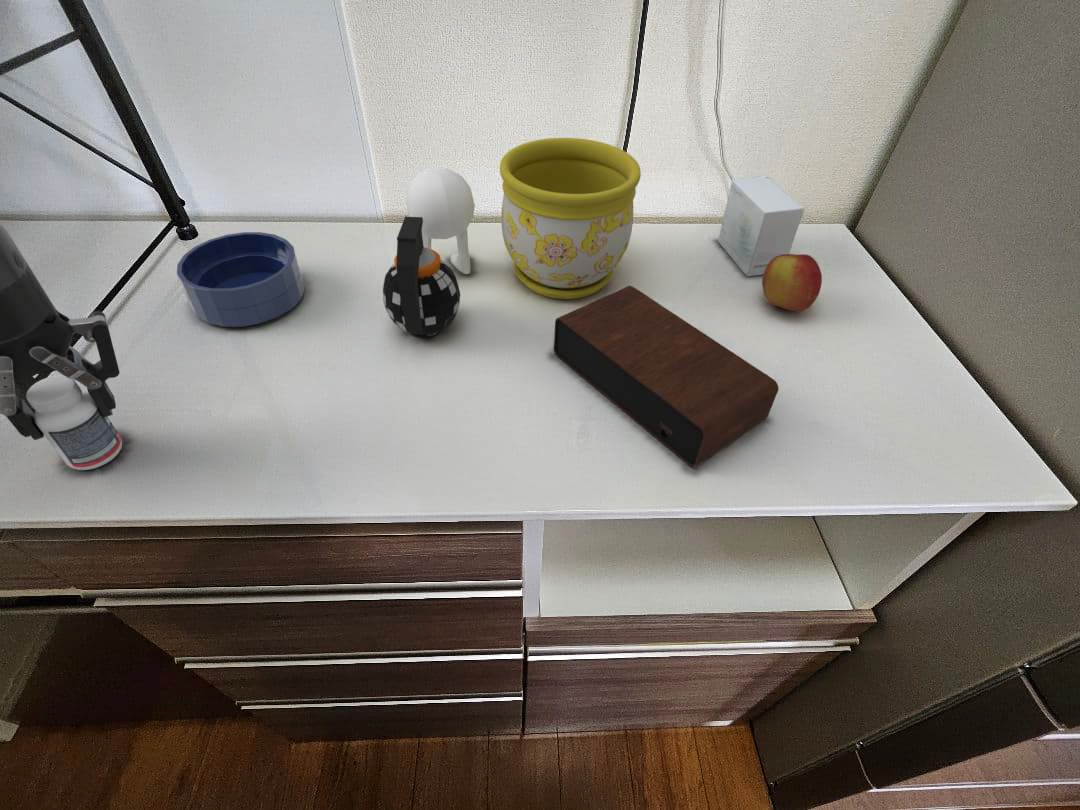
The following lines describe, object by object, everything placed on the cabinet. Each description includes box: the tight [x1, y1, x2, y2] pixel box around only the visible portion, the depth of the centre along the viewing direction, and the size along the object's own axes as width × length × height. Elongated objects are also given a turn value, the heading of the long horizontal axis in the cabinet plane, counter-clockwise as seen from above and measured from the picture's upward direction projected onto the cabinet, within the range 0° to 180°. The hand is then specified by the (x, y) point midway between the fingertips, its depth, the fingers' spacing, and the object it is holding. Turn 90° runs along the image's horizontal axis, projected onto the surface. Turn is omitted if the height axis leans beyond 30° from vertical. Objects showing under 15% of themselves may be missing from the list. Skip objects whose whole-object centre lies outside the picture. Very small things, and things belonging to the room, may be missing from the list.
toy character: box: [405, 167, 476, 275], centre depth 86 cm, size 9×9×15 cm
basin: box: [176, 231, 305, 328], centre depth 83 cm, size 14×14×6 cm
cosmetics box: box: [717, 174, 805, 277], centre depth 92 cm, size 10×6×10 cm, turn 13°
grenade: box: [382, 216, 461, 339], centre depth 75 cm, size 11×10×15 cm
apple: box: [761, 253, 823, 313], centre depth 84 cm, size 8×8×8 cm
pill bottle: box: [25, 374, 123, 471], centre depth 61 cm, size 5×5×9 cm
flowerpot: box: [499, 137, 642, 300], centre depth 85 cm, size 18×18×16 cm
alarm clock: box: [553, 285, 780, 468], centre depth 72 cm, size 24×12×6 cm, turn 38°
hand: (73, 421), depth 61 cm, fingers closed on pill bottle, 5 cm apart
